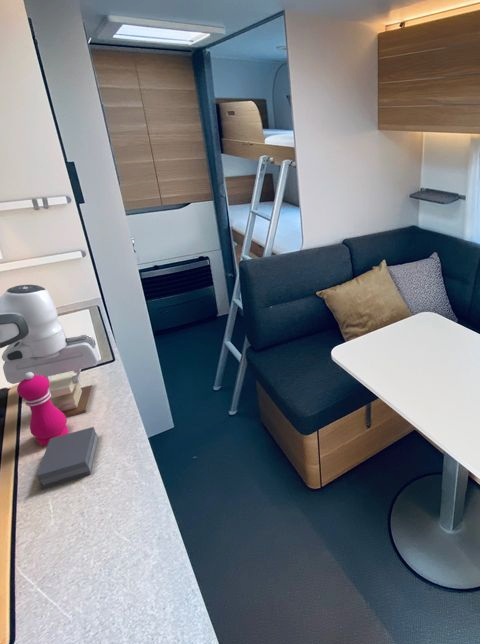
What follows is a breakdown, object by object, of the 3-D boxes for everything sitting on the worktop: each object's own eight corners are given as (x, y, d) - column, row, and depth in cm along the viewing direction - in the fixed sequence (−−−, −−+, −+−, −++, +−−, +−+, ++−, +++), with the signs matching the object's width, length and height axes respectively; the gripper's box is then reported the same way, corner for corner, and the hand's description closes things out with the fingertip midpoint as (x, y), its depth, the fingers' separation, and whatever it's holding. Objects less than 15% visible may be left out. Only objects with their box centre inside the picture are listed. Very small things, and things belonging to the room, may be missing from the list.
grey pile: (42, 491, 90) (36, 476, 88) (55, 452, 100) (49, 438, 98) (92, 476, 93) (86, 461, 91) (99, 440, 103) (94, 426, 102)
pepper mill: (49, 452, 100) (21, 385, 92) (29, 444, 102) (0, 378, 95) (78, 431, 106) (53, 367, 99) (59, 425, 109) (33, 361, 101)
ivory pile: (42, 425, 108) (36, 410, 107) (53, 398, 119) (47, 384, 117) (86, 414, 112) (81, 399, 110) (93, 389, 122) (88, 375, 120)
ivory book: (47, 399, 109) (44, 392, 108) (54, 382, 115) (52, 375, 114) (72, 393, 111) (69, 386, 110) (77, 377, 117) (75, 370, 117)
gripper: (93, 328, 114) (107, 369, 119) (2, 346, 106) (20, 389, 112) (90, 338, 109) (104, 381, 114) (-7, 358, 101) (13, 403, 106)
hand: (62, 385), depth 113 cm, fingers closed on ivory book, 5 cm apart
